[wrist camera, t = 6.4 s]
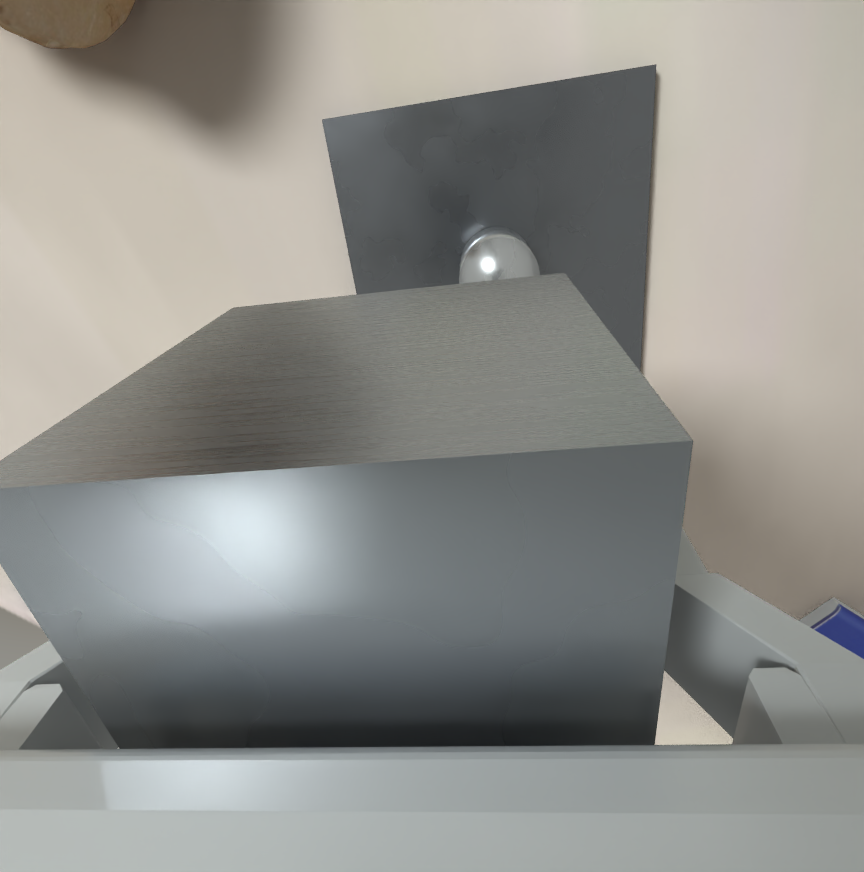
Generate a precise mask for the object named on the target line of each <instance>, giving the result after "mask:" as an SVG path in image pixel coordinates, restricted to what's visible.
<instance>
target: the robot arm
mask: <svg viewBox="0 0 864 872" xmlns="http://www.w3.org/2000/svg"><path fill="white" fill-rule="evenodd" d="M664 670H665V671H666V672H667V673H668V674H669V675H670V676H671V677H672V678H673V679H674V680H675V681H676V682H677V683H678V684H679V685H680V686H681V687H682V688H683V689H684V690H685V691H686V692H687V693H688V694H689V695H690V696H691V697H692V698H693V699H694V700H695V701H696V702H697V703H698V704H699V705H700V706H701V707H702V708H703V709H704V710H705V711H706V712H707V713H708V714H709V715H710V716H711V717H712V718H713V719H714V720H715V721H716V722H717V723H718V724H719V725H720V726H721V727H722V728H723V729H724V730H725V731H726V732H727V733H728V734H729V735H730V736H731V737H732V738H733V743H732V744H729V745H583V746H447V747H310V748H174V749H117V748H118V745H117V744H116V742H115V741H114V739H113V738H112V736H111V735H110V733H109V731H108V730H107V728H106V727H105V725H104V724H103V722H102V721H101V719H100V717H99V716H98V714H97V713H96V711H95V710H94V708H93V707H92V705H91V704H90V702H89V700H88V699H87V697H86V696H85V694H84V693H83V691H82V690H81V688H80V687H79V685H78V683H77V682H76V680H75V679H74V677H73V676H72V674H71V673H70V671H69V670H68V668H67V666H66V665H65V663H64V662H63V660H62V659H61V657H60V656H59V654H58V653H57V651H56V649H55V648H54V646H53V645H52V643H51V642H50V640H49V641H48V642H46V643H44V644H43V645H41V646H39V647H38V648H36V649H34V650H33V651H31V652H29V653H28V654H26V655H24V656H23V657H21V658H19V659H18V660H16V661H15V662H13V663H11V664H10V665H8V666H6V667H5V668H3V669H1V670H0V872H864V659H863V658H861V657H859V656H858V655H856V654H854V653H852V652H851V651H849V650H847V649H846V648H844V647H842V646H841V645H839V644H837V643H836V642H834V641H832V640H830V639H829V638H827V637H825V636H824V635H822V634H820V633H819V632H817V631H815V630H814V629H812V628H810V627H808V626H807V625H805V624H803V623H802V622H800V621H798V620H797V619H795V618H793V617H792V616H790V615H788V614H786V613H785V612H783V611H781V610H780V609H778V608H776V607H775V606H773V605H771V604H770V603H768V602H766V601H764V600H763V599H761V598H759V597H758V596H756V595H754V594H753V593H751V592H749V591H748V590H746V589H744V588H742V587H741V586H739V585H737V584H736V583H734V582H732V581H731V580H729V579H727V578H725V577H724V576H722V575H720V574H719V573H708V571H707V569H706V567H705V566H704V564H703V562H702V561H701V559H700V557H699V555H698V554H697V552H696V550H695V548H694V547H693V545H692V543H691V541H690V540H689V538H688V536H687V534H686V533H685V531H684V529H683V528H682V532H681V540H680V547H679V555H678V563H677V571H676V579H675V587H674V595H673V603H672V610H671V618H670V626H669V634H668V642H667V650H666V658H665V666H664Z"/></svg>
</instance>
